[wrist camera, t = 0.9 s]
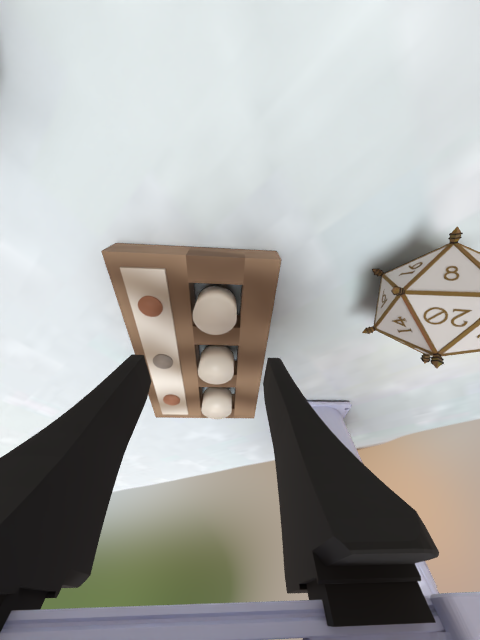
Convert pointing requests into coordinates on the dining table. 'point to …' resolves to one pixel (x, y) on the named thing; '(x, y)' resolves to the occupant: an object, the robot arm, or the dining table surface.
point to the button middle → (216, 364)
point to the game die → (433, 302)
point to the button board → (177, 318)
